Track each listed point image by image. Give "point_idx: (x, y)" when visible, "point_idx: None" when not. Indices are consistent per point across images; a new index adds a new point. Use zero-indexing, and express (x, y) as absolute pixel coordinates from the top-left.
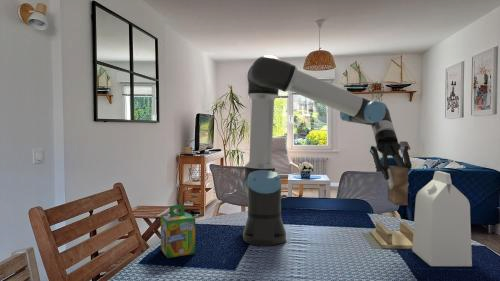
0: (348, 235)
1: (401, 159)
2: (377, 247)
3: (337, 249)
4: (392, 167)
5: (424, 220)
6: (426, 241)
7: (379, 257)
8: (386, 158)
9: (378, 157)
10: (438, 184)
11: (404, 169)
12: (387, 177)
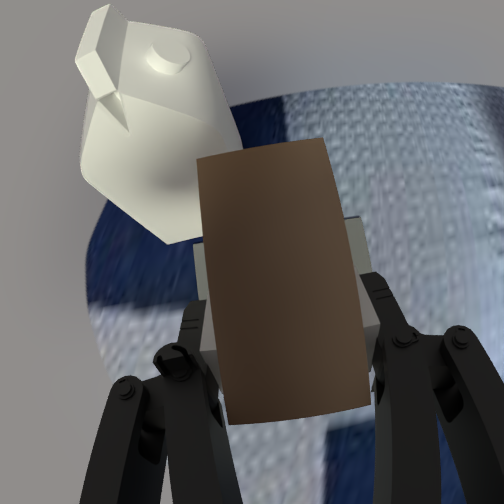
0: (417, 324)
1: (182, 485)
2: (347, 225)
3: (435, 201)
4: (345, 242)
5: (226, 114)
6: (235, 131)
7: (344, 166)
8: (405, 477)
9: (502, 449)
10: (137, 47)
11: (233, 153)
12: (365, 277)
